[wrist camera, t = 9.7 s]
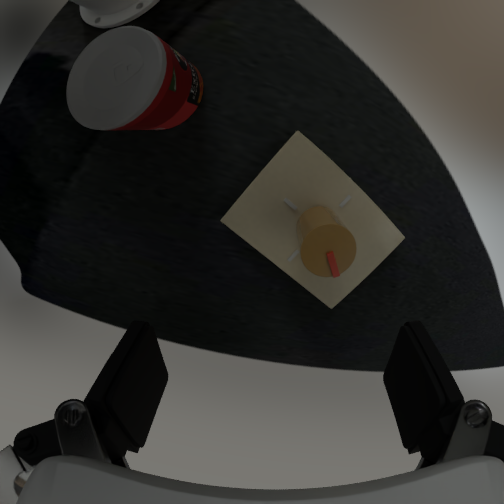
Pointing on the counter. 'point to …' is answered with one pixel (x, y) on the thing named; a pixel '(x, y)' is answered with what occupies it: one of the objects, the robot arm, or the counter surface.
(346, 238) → the tap handle
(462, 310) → the counter surface
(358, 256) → the plate
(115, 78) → the canned food
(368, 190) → the counter surface
